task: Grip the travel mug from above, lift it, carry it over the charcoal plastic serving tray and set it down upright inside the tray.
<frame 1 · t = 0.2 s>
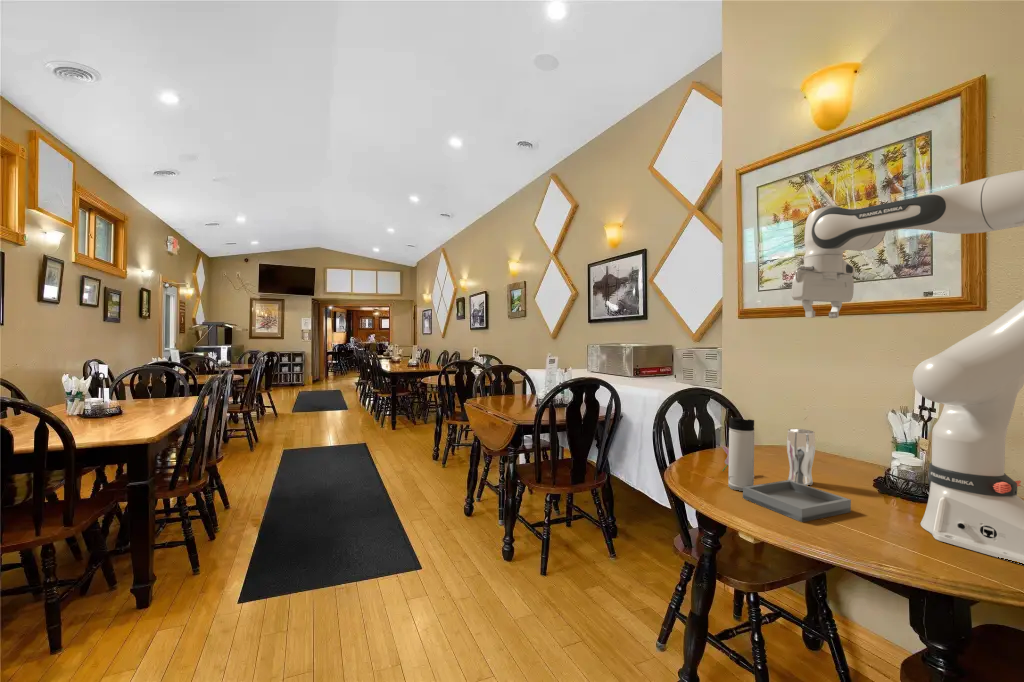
hand: (822, 317, 125), 48 cm above the table, tool pointing down, fingers open, 8 cm apart
lily: (735, 475, 139), on the table
serving tray: (794, 505, 114), on the table
travel mug: (740, 489, 126), on the table
beer glass: (800, 483, 132), on the table
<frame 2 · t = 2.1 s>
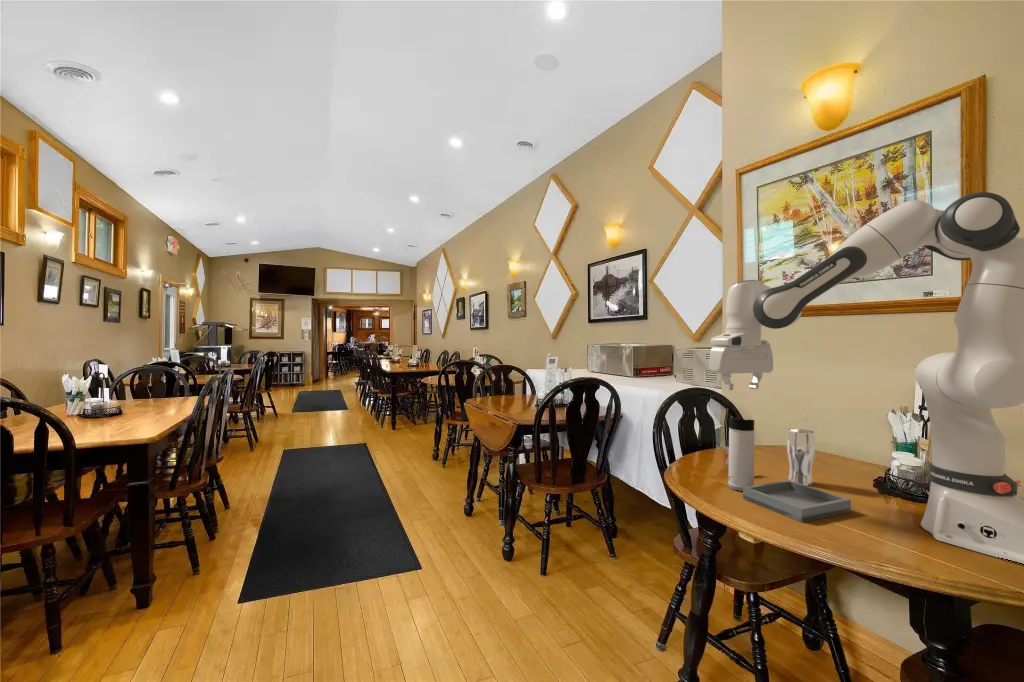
hand: (741, 389, 126), 28 cm above the table, tool pointing down, fingers open, 8 cm apart
nothing on the table moved.
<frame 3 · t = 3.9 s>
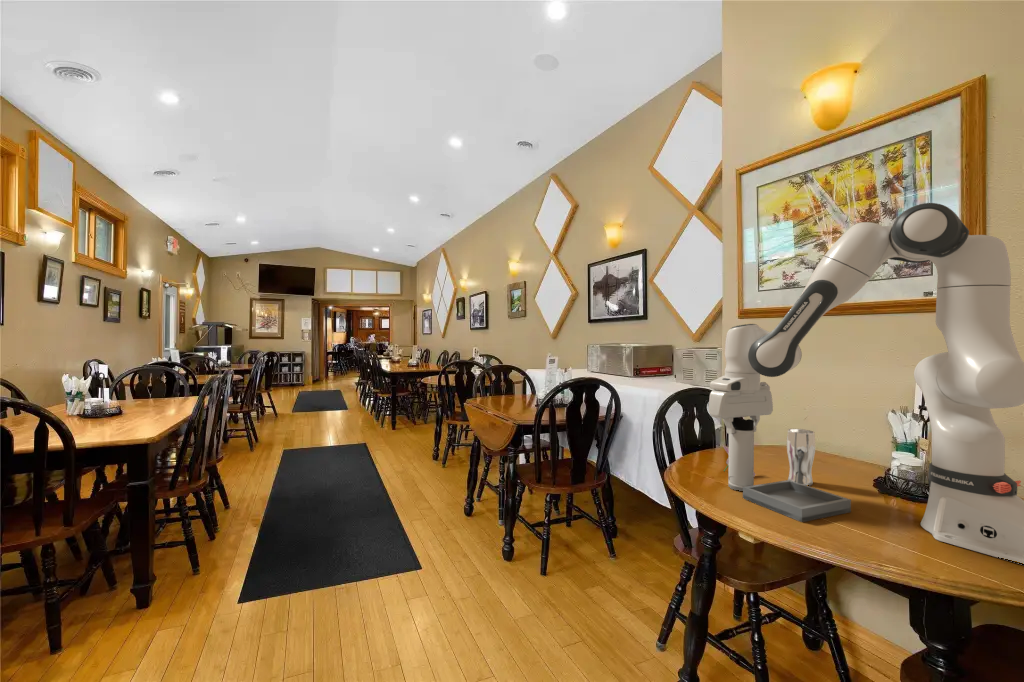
hand: (741, 432, 126), 16 cm above the table, tool pointing down, fingers closed on travel mug, 6 cm apart
travel mug: (740, 489, 126), on the table, touching gripper
everything else where it was.
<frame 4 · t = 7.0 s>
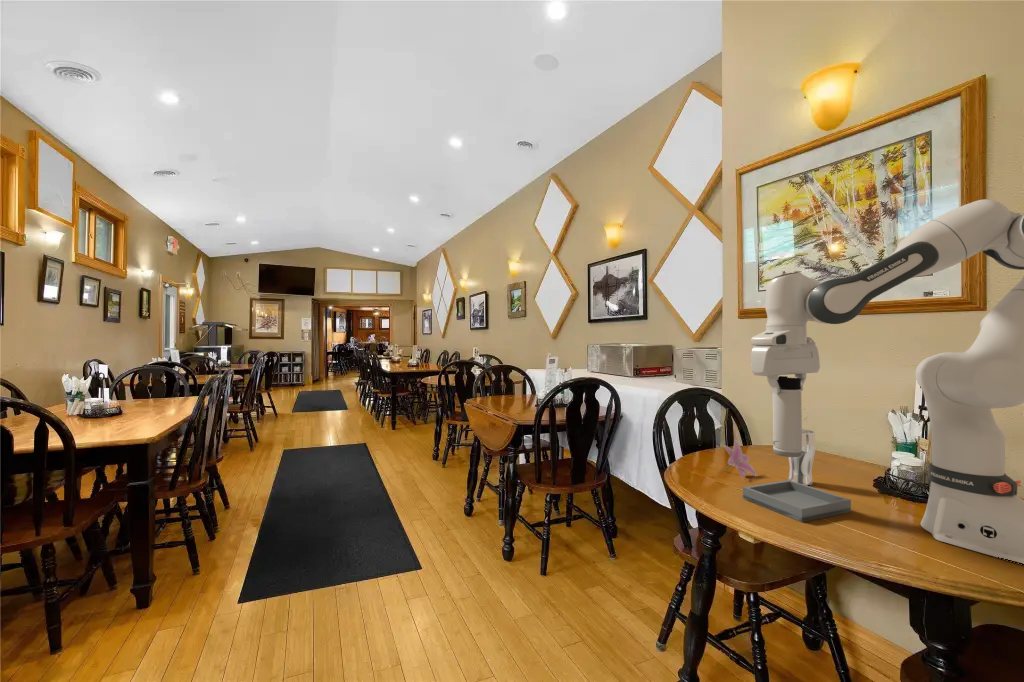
hand: (787, 392, 115), 28 cm above the table, tool pointing down, fingers closed on travel mug, 6 cm apart
travel mug: (787, 455, 115), point 12 cm above the table, touching gripper
everything else where it was.
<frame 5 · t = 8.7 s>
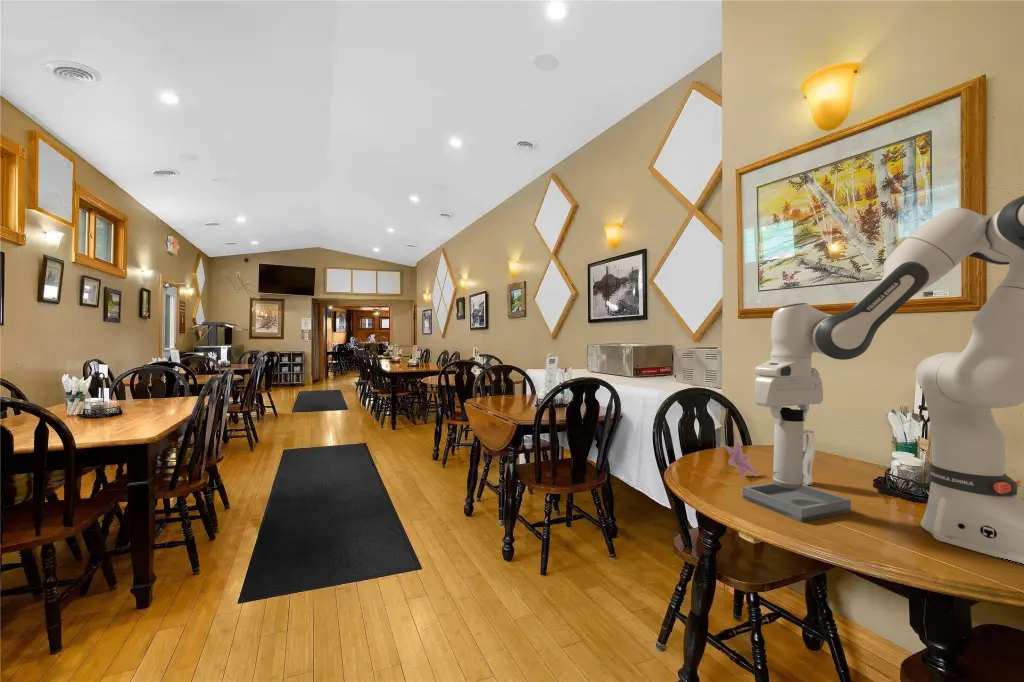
hand: (789, 423, 114), 21 cm above the table, tool pointing down, fingers closed on travel mug, 6 cm apart
travel mug: (787, 486, 114), point 5 cm above the table, touching gripper
everything else where it was.
when the fingers open (18 cm above the table, at t = 10.2 s): travel mug drops 1 cm, resting on serving tray.
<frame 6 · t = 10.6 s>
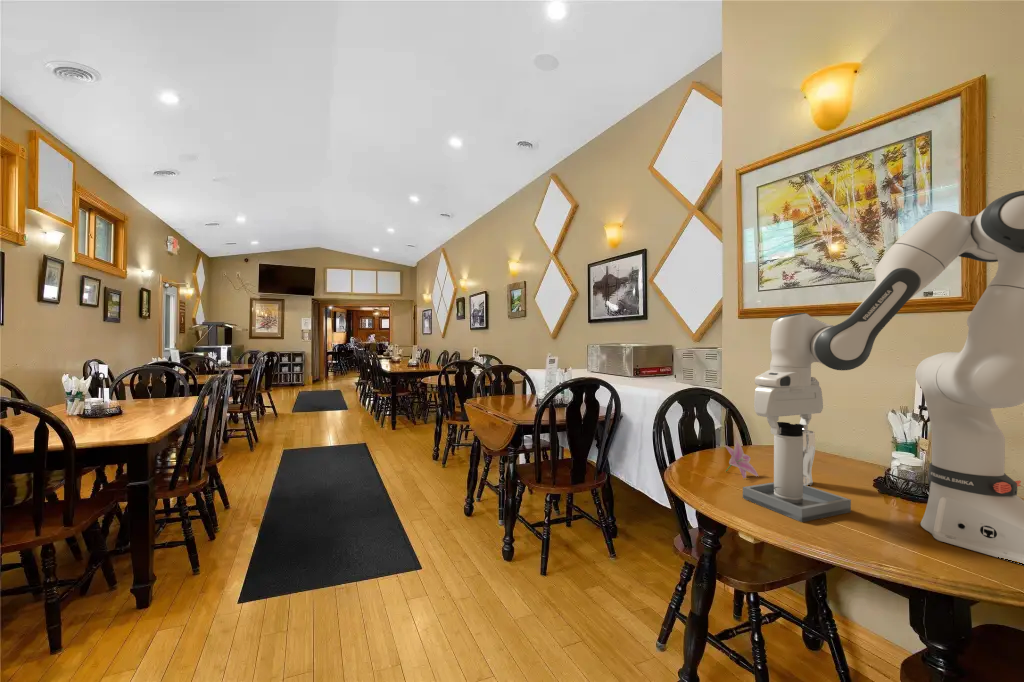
hand: (789, 432, 114), 18 cm above the table, tool pointing down, fingers open, 8 cm apart
travel mug: (787, 500, 114), point 1 cm above the table, touching serving tray
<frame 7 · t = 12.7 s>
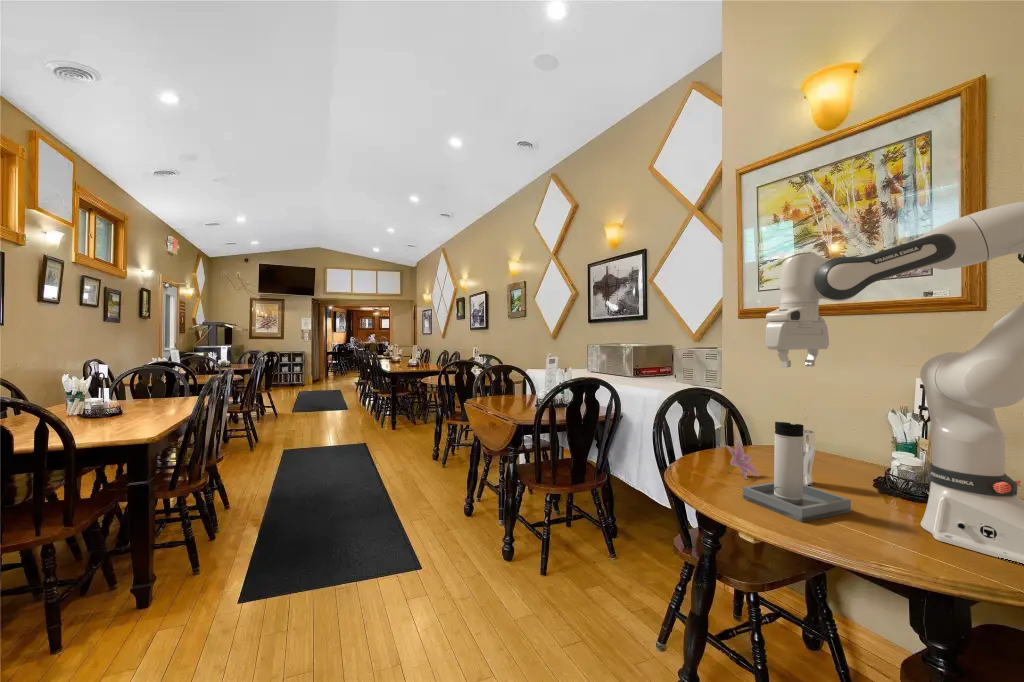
hand: (798, 366, 121), 34 cm above the table, tool pointing down, fingers open, 8 cm apart
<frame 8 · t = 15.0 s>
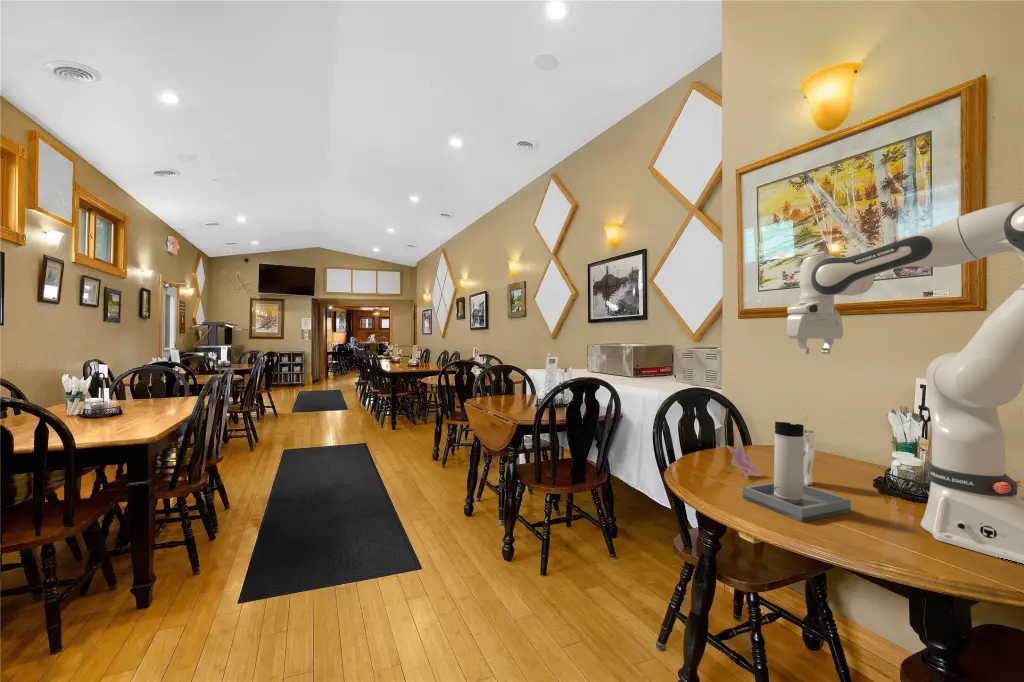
hand: (815, 353, 138), 37 cm above the table, tool pointing down, fingers open, 8 cm apart
at the end: travel mug inside the target area on the serving tray (1.5 cm from its centre), point 0.8 cm above the serving tray's base; travel mug tilted 0°; the gripper is holding nothing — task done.
